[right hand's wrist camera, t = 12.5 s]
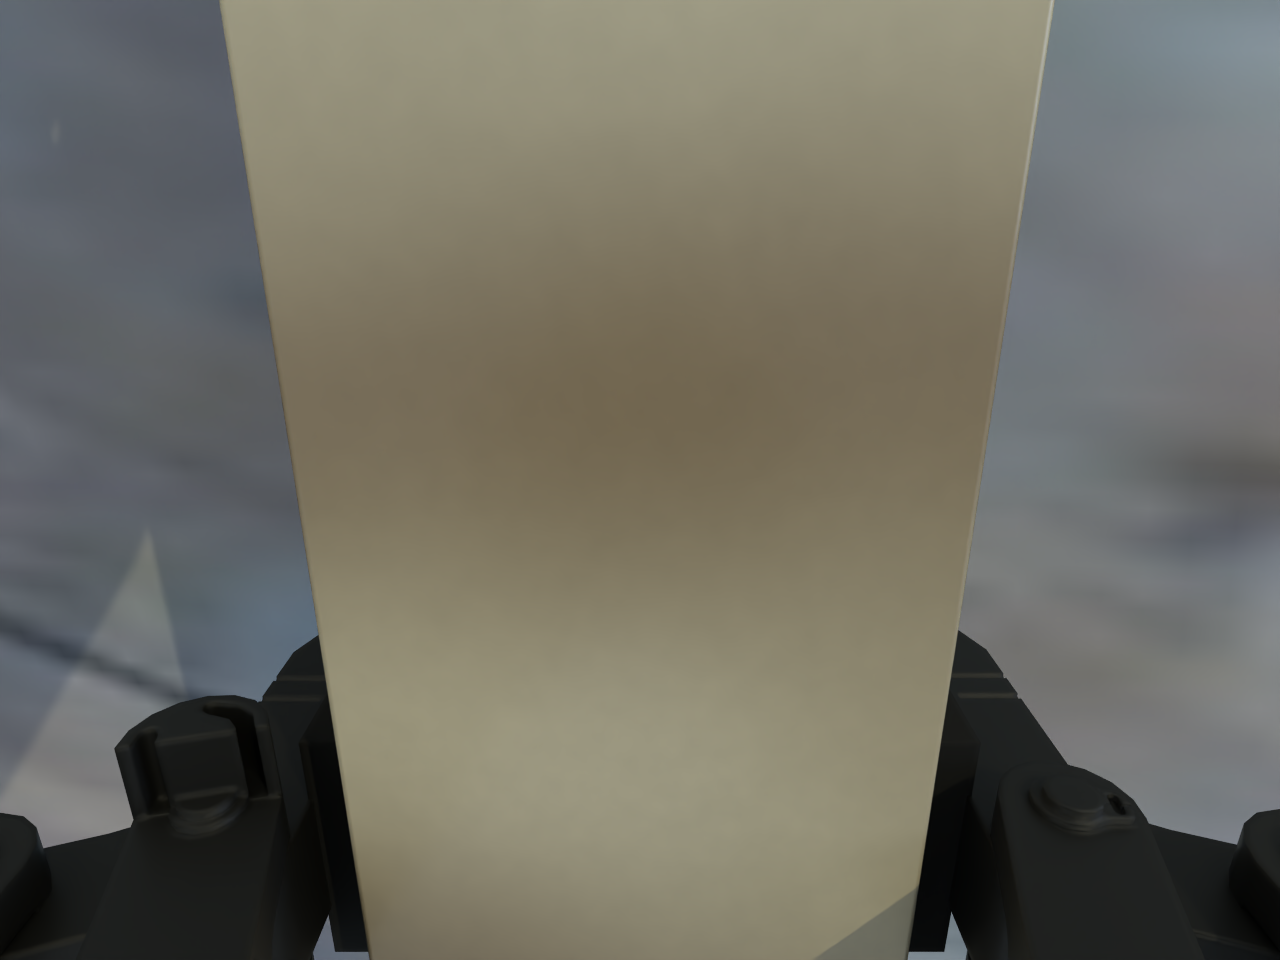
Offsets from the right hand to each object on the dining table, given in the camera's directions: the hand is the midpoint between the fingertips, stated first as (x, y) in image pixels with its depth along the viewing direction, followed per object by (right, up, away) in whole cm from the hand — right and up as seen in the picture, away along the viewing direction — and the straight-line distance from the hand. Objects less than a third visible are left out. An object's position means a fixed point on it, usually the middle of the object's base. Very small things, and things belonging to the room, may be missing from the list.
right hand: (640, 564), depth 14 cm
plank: (0, +9, -3) cm, 9 cm away
